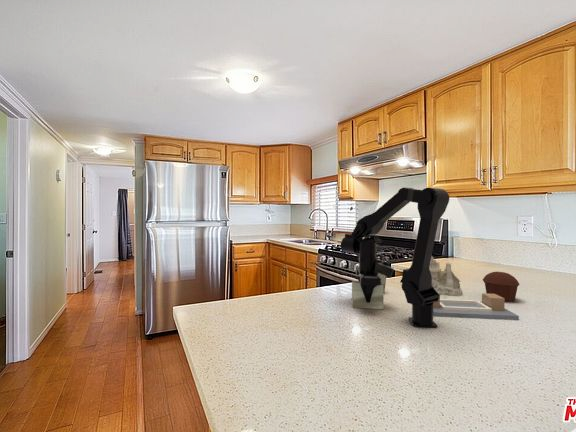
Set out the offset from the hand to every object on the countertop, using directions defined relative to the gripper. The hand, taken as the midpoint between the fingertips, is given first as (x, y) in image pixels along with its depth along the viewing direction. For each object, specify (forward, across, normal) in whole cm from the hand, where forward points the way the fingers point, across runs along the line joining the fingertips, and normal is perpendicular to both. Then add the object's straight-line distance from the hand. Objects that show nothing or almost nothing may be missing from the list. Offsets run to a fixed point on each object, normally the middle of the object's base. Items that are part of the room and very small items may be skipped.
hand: (367, 300), depth 109 cm
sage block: (+2, 0, 0) cm, 2 cm away
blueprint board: (+2, 0, -30) cm, 31 cm away
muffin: (+2, +17, -51) cm, 54 cm away
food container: (+2, +21, -4) cm, 22 cm away
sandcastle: (+2, +27, -33) cm, 43 cm away
